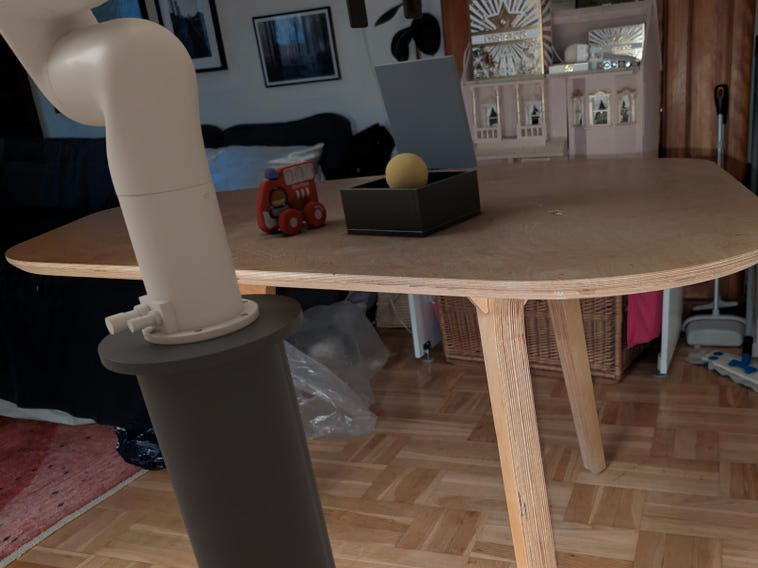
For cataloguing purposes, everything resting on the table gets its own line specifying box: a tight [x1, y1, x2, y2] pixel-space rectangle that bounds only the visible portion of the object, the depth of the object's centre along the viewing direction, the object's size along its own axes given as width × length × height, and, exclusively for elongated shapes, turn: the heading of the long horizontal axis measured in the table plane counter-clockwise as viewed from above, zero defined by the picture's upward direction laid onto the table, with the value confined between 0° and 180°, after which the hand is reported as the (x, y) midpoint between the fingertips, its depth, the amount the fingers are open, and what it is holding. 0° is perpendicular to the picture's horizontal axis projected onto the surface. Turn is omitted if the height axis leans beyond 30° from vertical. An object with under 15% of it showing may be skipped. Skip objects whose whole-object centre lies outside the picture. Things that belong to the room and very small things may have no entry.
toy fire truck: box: [255, 160, 328, 235], centre depth 114 cm, size 7×12×10 cm, turn 144°
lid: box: [373, 54, 478, 170], centre depth 110 cm, size 16×15×5 cm
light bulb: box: [385, 153, 429, 188], centre depth 106 cm, size 6×6×10 cm
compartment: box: [339, 169, 482, 238], centre depth 108 cm, size 16×15×7 cm
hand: (386, 23), depth 96 cm, fingers open, 9 cm apart
